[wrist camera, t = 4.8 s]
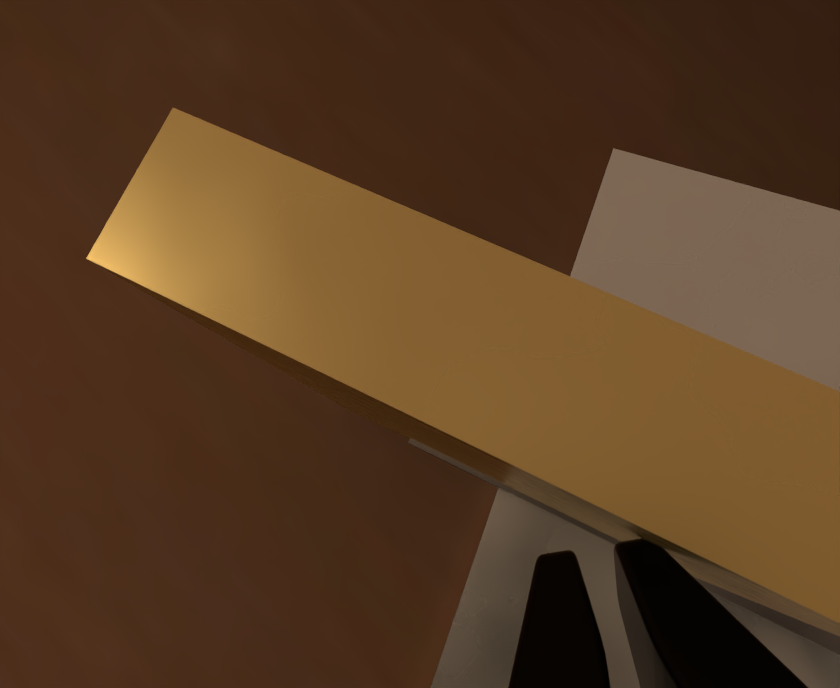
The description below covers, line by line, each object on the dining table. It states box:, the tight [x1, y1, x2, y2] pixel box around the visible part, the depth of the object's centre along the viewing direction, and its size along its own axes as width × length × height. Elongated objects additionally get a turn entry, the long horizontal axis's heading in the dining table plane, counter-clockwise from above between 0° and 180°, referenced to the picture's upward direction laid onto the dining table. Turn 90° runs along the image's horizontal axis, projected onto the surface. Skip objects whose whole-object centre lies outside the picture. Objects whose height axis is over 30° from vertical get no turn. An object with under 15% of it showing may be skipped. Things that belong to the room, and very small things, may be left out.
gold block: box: [86, 108, 840, 656], centre depth 11 cm, size 16×4×11 cm, turn 64°
